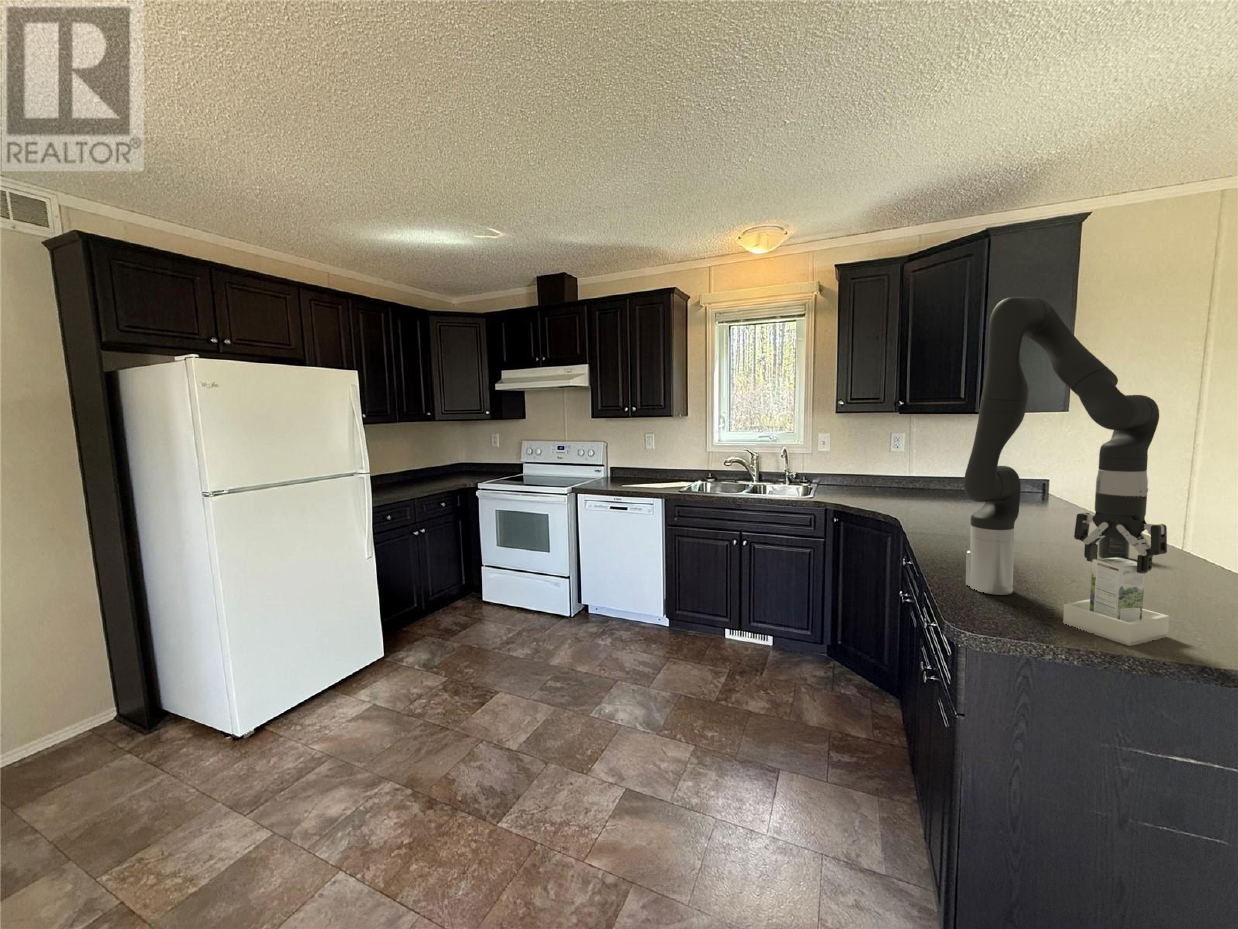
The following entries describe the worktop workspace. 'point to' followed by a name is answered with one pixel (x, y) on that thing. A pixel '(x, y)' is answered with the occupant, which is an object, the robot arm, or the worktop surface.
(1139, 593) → the syrup box
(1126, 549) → the supplement bottle
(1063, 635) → the worktop surface
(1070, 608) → the bin
